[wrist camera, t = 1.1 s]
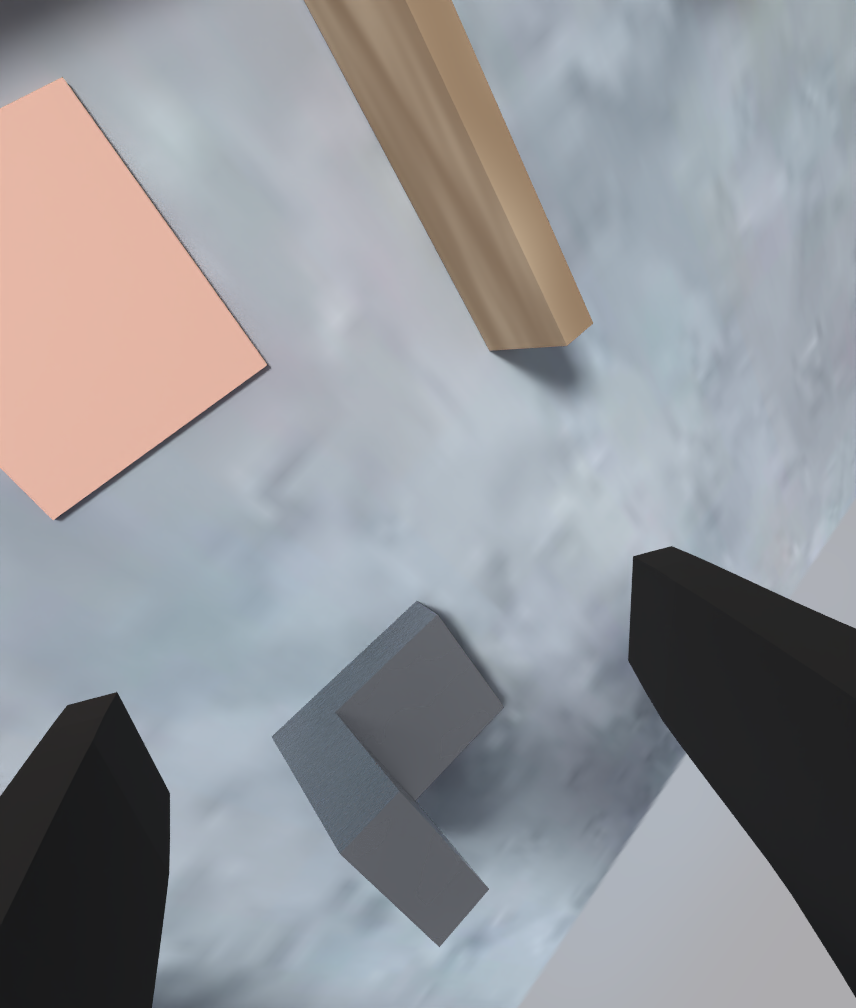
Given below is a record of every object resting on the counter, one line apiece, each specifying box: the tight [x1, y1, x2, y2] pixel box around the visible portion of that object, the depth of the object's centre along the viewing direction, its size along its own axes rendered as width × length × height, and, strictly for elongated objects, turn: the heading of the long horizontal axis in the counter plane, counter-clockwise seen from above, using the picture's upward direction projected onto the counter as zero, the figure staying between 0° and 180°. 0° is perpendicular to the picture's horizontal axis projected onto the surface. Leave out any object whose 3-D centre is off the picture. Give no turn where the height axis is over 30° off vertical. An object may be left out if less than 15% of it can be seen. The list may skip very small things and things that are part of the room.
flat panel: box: [0, 77, 267, 520], centre depth 16 cm, size 7×8×1 cm
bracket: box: [272, 601, 504, 947], centre depth 20 cm, size 6×5×6 cm
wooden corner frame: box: [304, 0, 593, 351], centre depth 14 cm, size 21×17×4 cm
